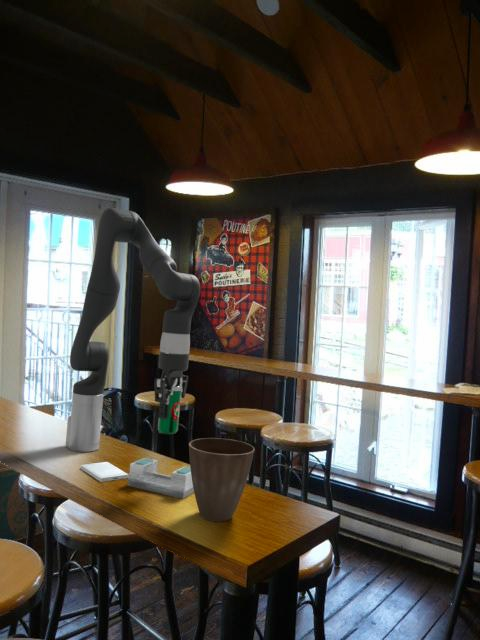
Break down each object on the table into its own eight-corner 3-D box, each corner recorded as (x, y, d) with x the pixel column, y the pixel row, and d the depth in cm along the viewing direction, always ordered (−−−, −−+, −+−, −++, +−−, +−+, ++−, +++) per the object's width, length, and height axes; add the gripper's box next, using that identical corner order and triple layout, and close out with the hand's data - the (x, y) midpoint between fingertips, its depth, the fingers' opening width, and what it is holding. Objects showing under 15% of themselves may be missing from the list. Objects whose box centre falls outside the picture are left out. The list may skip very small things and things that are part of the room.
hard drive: (80, 464, 150) (101, 477, 140) (108, 461, 155) (129, 473, 145) (80, 470, 150) (100, 484, 140) (107, 467, 155) (129, 479, 145)
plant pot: (169, 512, 124) (175, 442, 124) (214, 499, 135) (220, 434, 135) (216, 534, 114) (223, 458, 114) (261, 518, 125) (267, 449, 125)
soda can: (155, 429, 141) (159, 383, 141) (174, 429, 143) (178, 384, 143) (160, 434, 136) (164, 386, 136) (179, 434, 138) (184, 387, 138)
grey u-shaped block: (127, 485, 139) (129, 462, 139) (144, 477, 147) (146, 456, 147) (183, 498, 133) (185, 475, 133) (197, 489, 141) (199, 467, 141)
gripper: (175, 348, 147) (169, 411, 148) (147, 350, 134) (140, 419, 134) (200, 351, 145) (194, 415, 145) (173, 353, 131) (167, 424, 132)
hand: (168, 416), depth 140 cm, fingers closed on soda can, 5 cm apart
